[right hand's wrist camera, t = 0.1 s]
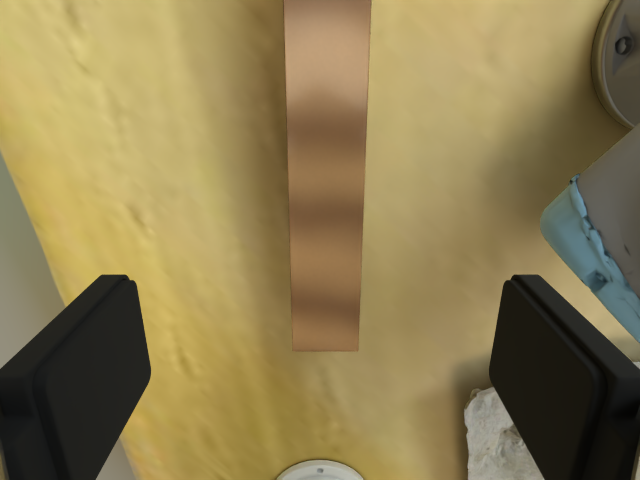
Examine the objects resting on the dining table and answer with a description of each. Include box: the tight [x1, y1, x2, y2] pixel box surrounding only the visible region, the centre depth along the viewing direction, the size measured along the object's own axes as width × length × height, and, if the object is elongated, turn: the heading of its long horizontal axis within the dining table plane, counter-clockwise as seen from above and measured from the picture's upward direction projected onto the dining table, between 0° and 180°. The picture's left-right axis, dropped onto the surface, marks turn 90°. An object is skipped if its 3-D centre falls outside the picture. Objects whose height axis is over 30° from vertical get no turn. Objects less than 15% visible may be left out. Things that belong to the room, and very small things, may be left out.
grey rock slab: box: [464, 362, 640, 480], centre depth 51 cm, size 38×6×30 cm
